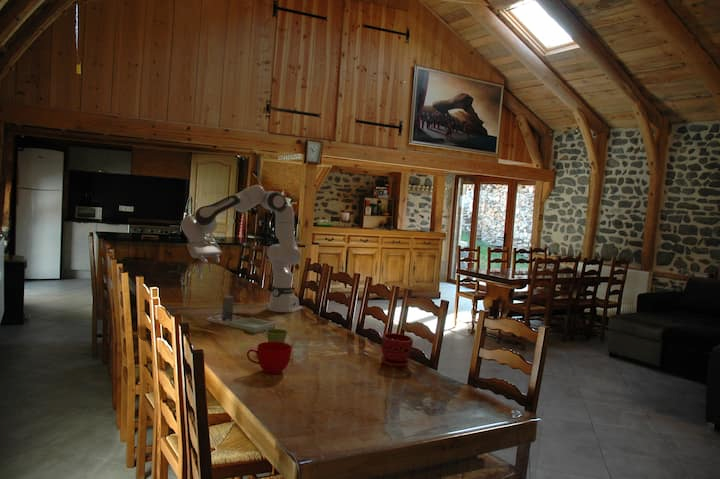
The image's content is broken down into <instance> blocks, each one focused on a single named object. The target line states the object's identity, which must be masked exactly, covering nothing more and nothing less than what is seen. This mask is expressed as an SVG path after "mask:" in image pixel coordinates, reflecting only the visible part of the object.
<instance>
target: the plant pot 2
mask: <svg viewBox="0 0 720 479" xmlns="http://www.w3.org/2000/svg"><path fill="white" fill-rule="evenodd" d="M413 342H414V339H413V338H412V337H411V336H410V335H406V334H404V333H403V334H402V333H396V332H395V333H394V332H388V333H384V334H383V335H382V337H381V353H382V357H381V358H380V359H381V360H380V361H381V362H382V363H383V364H384V365H386V366H389V367H395V368H396V367H397V368H398V367H399V368H401V367H404V366H407V365H408V364H409V360H408V359H409V357H410V355H411V352H412V349H413Z"/></svg>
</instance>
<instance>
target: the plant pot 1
mask: <svg viewBox="0 0 720 479" xmlns="http://www.w3.org/2000/svg"><path fill="white" fill-rule="evenodd" d="M288 332H289V331H288V330H285V329H281V328H274V329H269V330H267V331H265V334H266V336H267V342H282V343H286V342H285V341H286V337H287V334H288Z"/></svg>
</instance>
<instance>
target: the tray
mask: <svg viewBox="0 0 720 479" xmlns="http://www.w3.org/2000/svg"><path fill="white" fill-rule="evenodd" d="M246 318H247V317H243V316H240V315H239V316H238V315H234V314H233V318H232V321H230V319H226V321H223V320H222V314H218V315H213V316H209V317H207V318H206V320H207V322H212V323H215V324H216V323H217V324H220V325H225V326H230V322H233V321H238V320H242V319H246Z"/></svg>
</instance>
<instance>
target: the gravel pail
mask: <svg viewBox="0 0 720 479" xmlns="http://www.w3.org/2000/svg"><path fill="white" fill-rule="evenodd" d="M234 300H235V298H234V297H233V296H232V295H228V294H226V295H225V296H224V297H222V305H221V307H222V308H221V315H222V320H223V321H226V319H230V321H232V318H233V315H234Z"/></svg>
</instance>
